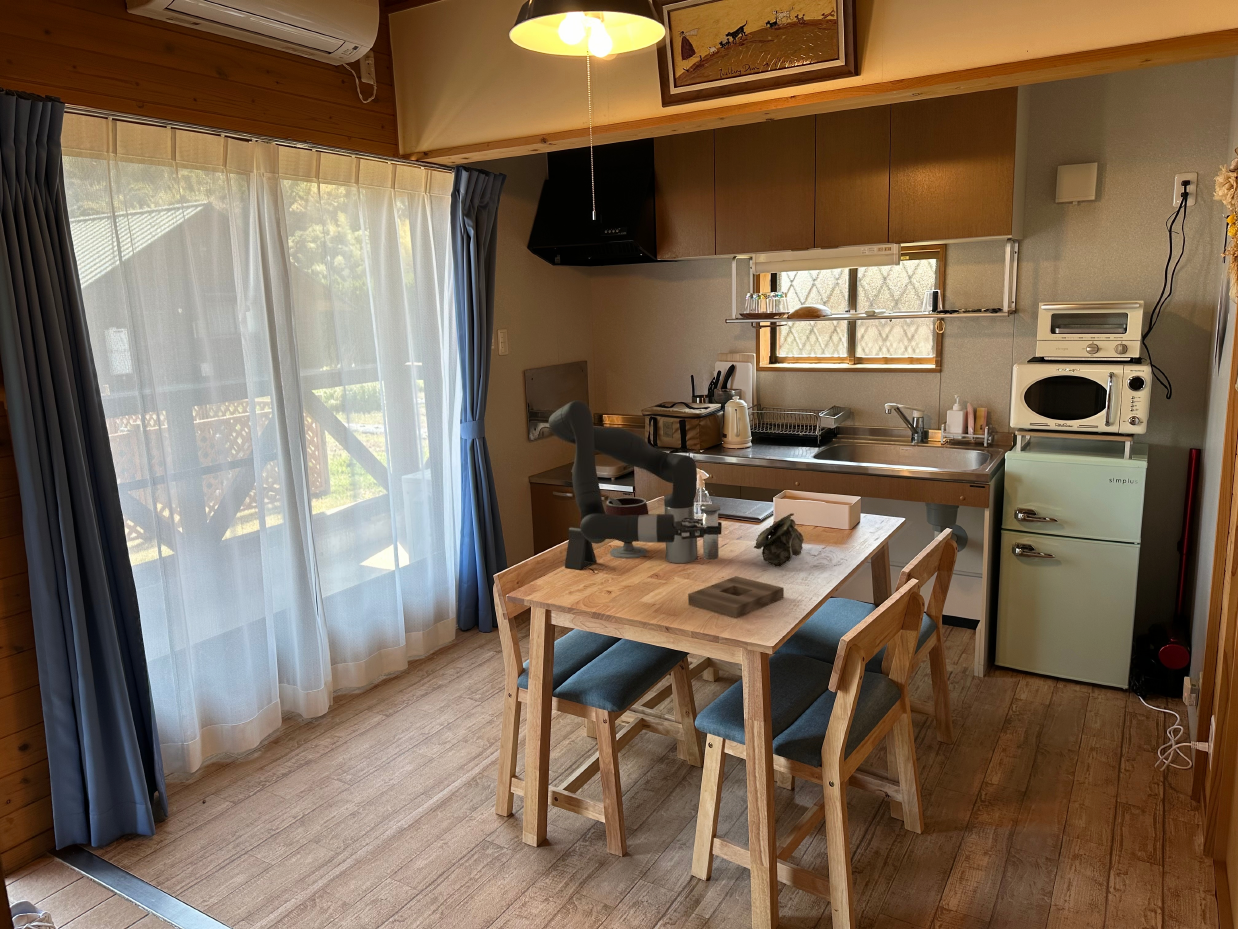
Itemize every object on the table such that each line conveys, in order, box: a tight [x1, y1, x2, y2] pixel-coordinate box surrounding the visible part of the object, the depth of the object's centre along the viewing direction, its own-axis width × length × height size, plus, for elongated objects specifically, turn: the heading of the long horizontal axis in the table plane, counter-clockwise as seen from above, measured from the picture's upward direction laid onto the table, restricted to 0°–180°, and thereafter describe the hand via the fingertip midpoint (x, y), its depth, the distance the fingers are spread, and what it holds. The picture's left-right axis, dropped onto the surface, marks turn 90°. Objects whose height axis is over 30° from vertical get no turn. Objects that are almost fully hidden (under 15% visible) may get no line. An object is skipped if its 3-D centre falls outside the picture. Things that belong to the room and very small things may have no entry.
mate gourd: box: [605, 496, 649, 559], centre depth 275 cm, size 16×14×20 cm
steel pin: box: [699, 503, 721, 561], centre depth 226 cm, size 5×5×14 cm
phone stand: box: [564, 526, 598, 571], centre depth 265 cm, size 9×6×12 cm, turn 147°
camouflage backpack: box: [753, 512, 805, 568], centre depth 263 cm, size 28×13×15 cm
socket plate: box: [687, 575, 785, 620], centre depth 227 cm, size 20×16×3 cm
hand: (721, 528), depth 225 cm, fingers closed on steel pin, 4 cm apart
